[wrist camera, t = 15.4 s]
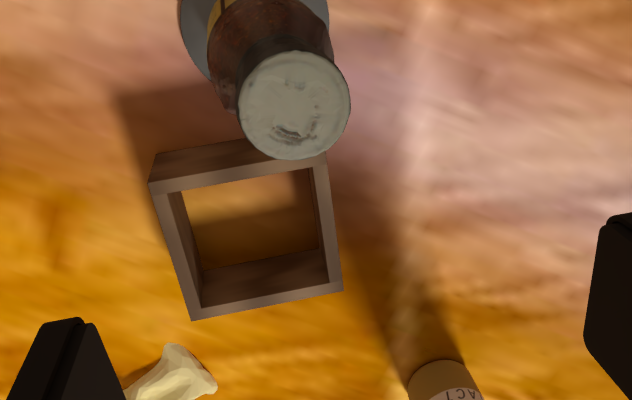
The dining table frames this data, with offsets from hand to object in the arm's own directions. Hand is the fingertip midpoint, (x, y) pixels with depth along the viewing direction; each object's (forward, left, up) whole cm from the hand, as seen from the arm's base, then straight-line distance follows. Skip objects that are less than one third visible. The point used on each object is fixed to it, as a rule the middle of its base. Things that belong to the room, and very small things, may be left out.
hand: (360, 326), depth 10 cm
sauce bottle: (0, -1, -30) cm, 30 cm away
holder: (+3, +13, -30) cm, 33 cm away
